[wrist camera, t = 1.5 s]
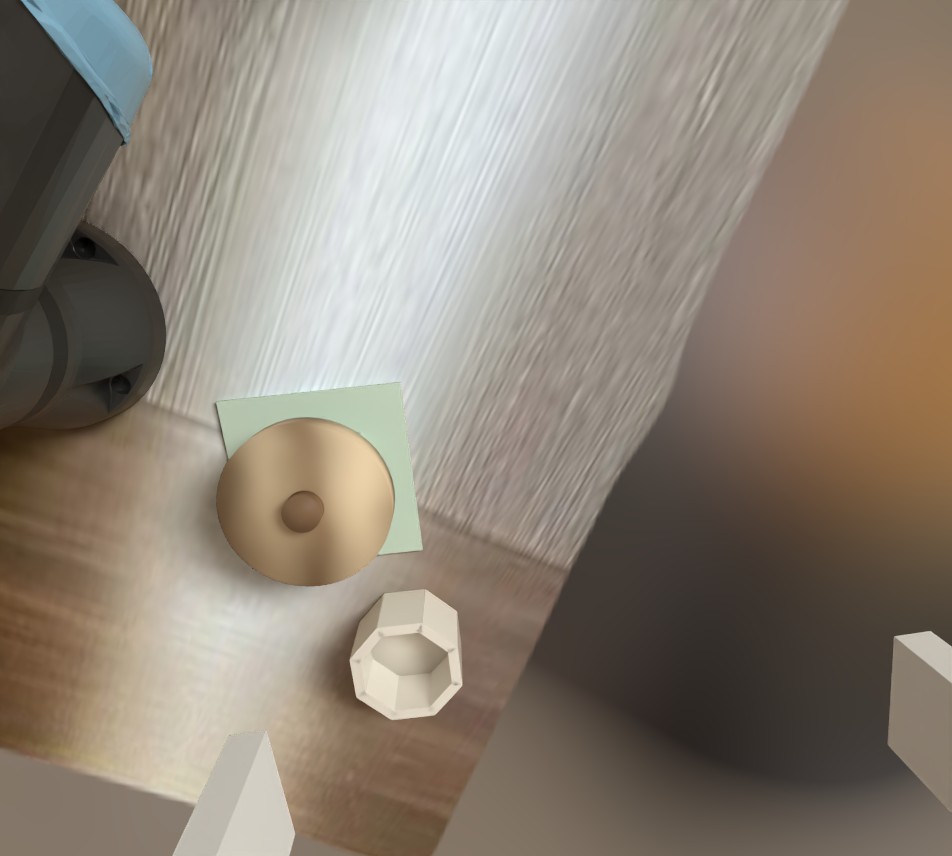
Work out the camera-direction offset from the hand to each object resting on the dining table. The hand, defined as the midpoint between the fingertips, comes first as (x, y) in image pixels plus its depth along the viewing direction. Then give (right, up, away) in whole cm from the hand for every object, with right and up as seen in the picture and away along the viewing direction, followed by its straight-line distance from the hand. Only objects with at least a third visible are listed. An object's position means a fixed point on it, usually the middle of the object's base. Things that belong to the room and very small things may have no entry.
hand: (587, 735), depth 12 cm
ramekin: (-8, -11, +38) cm, 41 cm away
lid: (-14, +1, +30) cm, 33 cm away
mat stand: (-14, +2, +34) cm, 37 cm away
